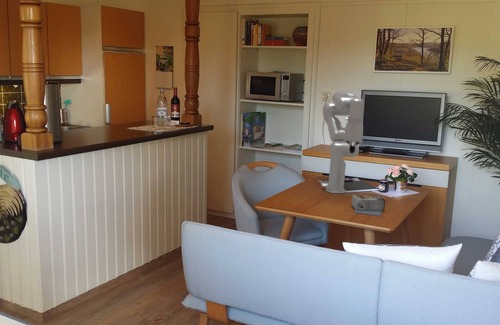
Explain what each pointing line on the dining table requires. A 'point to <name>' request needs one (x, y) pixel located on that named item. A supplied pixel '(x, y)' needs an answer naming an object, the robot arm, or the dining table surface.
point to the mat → (369, 212)
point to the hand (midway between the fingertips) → (351, 152)
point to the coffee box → (368, 202)
